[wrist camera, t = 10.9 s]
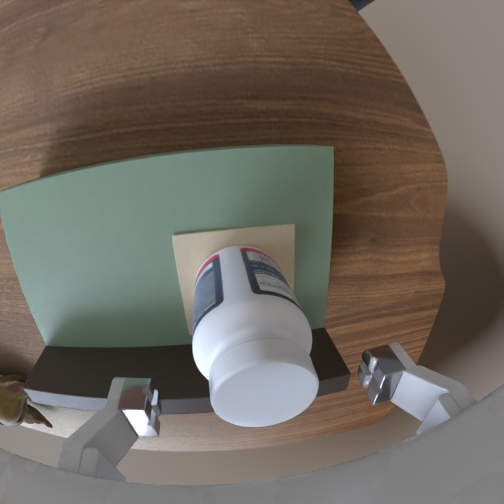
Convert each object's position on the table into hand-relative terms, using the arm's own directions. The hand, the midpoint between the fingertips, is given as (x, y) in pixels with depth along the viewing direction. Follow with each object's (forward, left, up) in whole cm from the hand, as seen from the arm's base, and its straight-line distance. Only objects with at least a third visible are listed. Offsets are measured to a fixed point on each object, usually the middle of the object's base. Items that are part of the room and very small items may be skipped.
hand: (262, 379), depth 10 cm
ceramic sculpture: (+17, -34, -14) cm, 41 cm away
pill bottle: (0, 0, -8) cm, 8 cm away
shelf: (-1, -5, -14) cm, 15 cm away
